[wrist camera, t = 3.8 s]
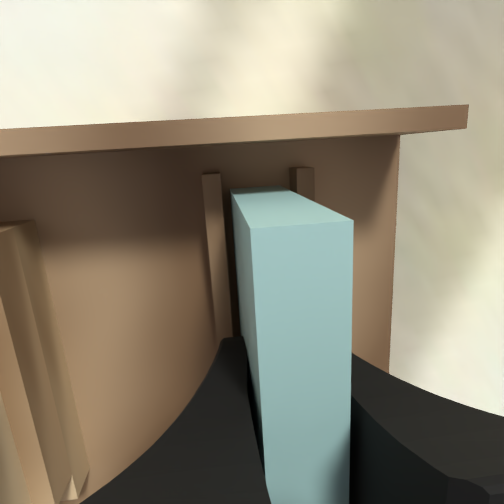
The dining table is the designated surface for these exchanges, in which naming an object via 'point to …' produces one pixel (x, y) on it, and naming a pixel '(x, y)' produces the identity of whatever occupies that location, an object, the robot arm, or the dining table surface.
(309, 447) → the teal rectangular block
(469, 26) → the dining table surface
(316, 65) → the dining table surface
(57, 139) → the rack
